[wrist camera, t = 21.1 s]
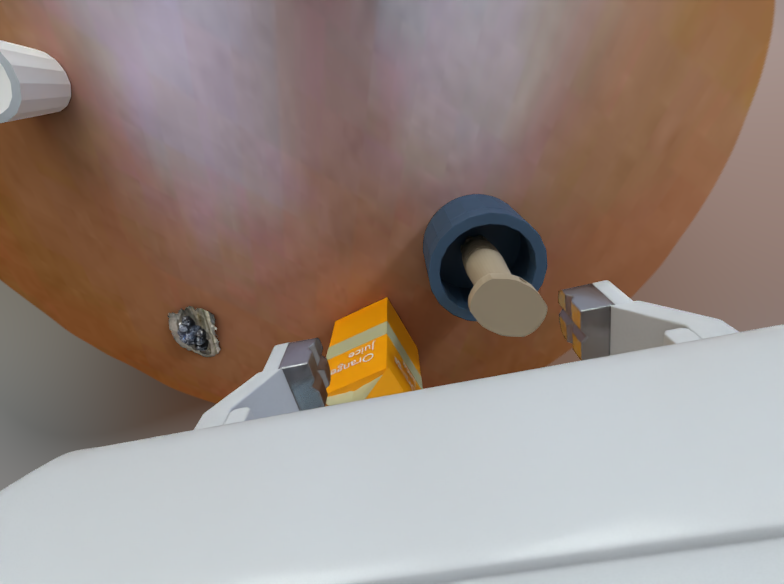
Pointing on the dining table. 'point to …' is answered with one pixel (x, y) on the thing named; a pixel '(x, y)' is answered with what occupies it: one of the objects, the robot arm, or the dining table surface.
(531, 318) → the handle
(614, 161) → the dining table surface
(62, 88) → the white ribbed cylinder
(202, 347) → the mineral rock
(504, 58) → the dining table surface
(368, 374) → the orange juice
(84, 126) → the dining table surface
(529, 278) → the jar
